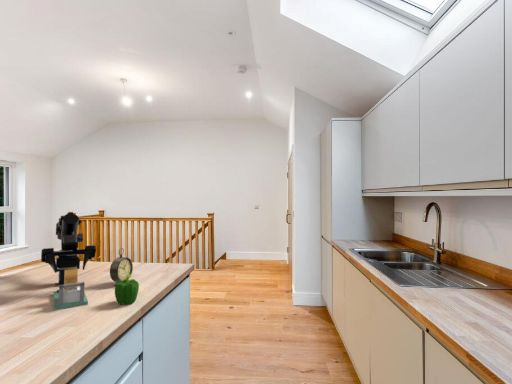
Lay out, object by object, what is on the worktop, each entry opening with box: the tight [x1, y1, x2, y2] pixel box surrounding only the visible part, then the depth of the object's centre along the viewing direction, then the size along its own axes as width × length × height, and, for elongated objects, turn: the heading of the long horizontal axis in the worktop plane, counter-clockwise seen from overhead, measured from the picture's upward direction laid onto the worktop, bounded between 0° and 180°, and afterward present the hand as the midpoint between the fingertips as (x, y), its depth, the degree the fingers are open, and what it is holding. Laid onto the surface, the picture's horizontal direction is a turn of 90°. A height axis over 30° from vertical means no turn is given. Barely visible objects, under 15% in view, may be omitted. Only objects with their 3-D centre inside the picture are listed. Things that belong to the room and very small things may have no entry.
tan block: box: [63, 267, 79, 293], centre depth 106 cm, size 10×4×10 cm, turn 36°
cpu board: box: [53, 281, 89, 311], centre depth 111 cm, size 20×10×8 cm, turn 36°
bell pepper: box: [114, 274, 140, 305], centre depth 108 cm, size 8×8×10 cm
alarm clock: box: [109, 247, 134, 283], centre depth 132 cm, size 11×5×16 cm, turn 168°
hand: (70, 270), depth 114 cm, fingers open, 9 cm apart
